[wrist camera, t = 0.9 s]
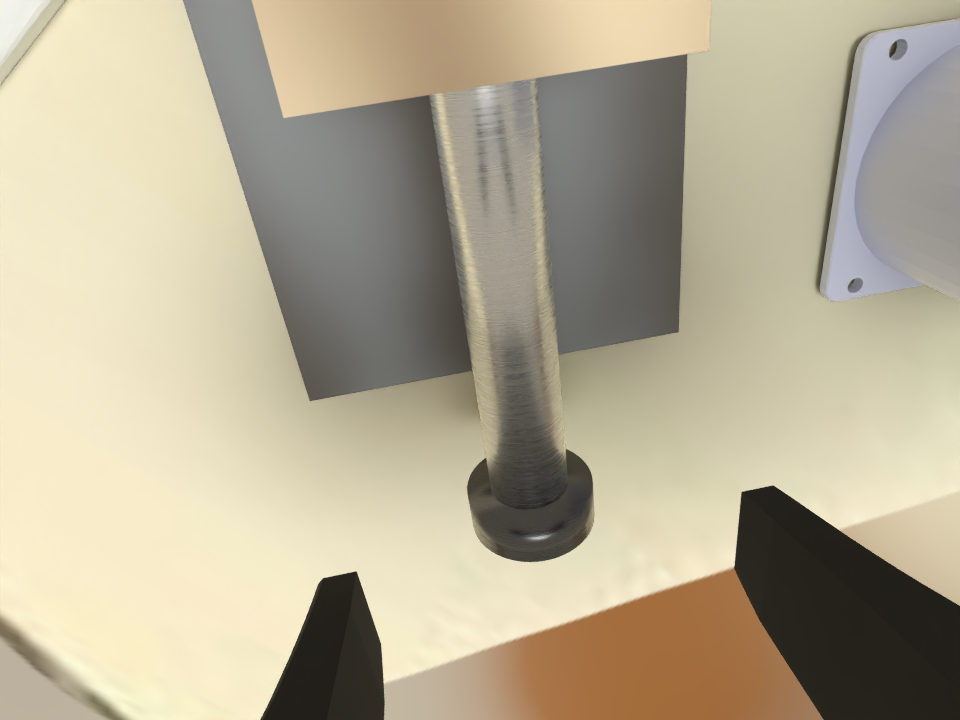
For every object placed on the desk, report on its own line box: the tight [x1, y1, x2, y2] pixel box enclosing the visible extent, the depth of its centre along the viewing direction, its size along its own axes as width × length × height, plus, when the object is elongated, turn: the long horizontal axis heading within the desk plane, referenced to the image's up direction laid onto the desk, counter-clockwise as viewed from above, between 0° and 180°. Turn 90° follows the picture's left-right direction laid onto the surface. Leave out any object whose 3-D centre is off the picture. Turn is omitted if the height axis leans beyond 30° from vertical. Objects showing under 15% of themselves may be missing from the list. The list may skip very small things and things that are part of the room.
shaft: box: [429, 78, 594, 562], centre depth 12 cm, size 3×25×3 cm, turn 8°
